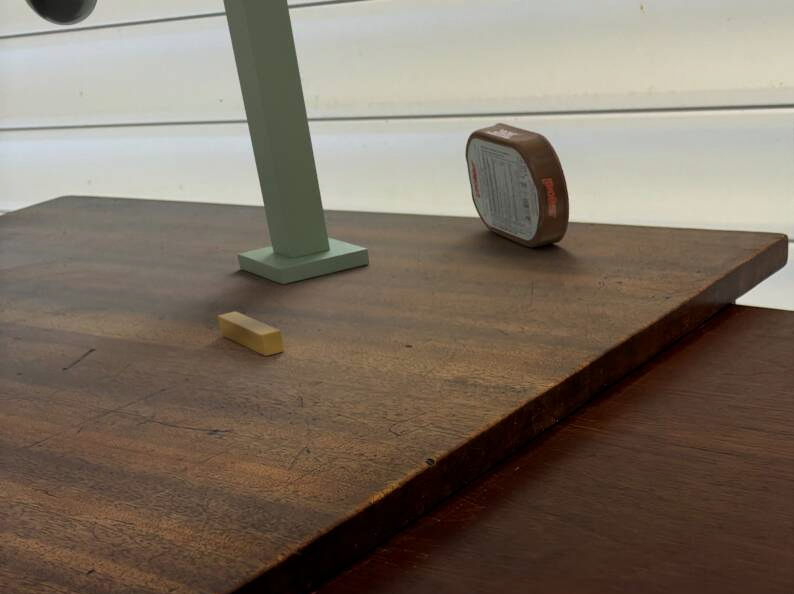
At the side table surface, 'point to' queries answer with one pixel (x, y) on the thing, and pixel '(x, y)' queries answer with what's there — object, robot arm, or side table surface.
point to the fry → (251, 333)
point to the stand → (282, 148)
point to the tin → (518, 184)
